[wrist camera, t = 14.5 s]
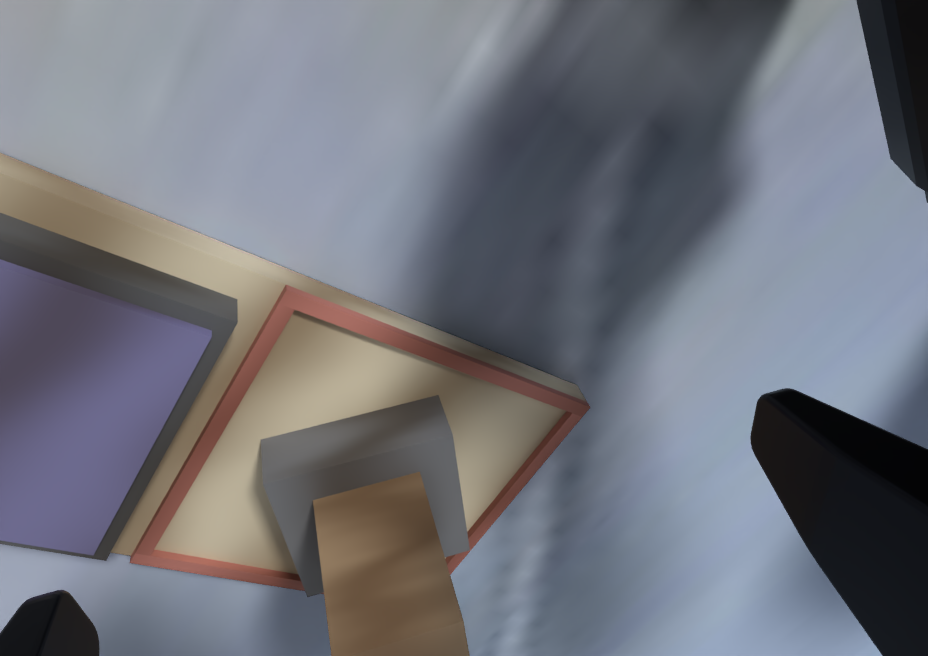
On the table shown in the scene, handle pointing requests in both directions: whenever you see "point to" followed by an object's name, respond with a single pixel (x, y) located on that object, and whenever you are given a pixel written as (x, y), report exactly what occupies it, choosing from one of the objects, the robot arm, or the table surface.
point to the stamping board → (211, 387)
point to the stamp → (375, 526)
